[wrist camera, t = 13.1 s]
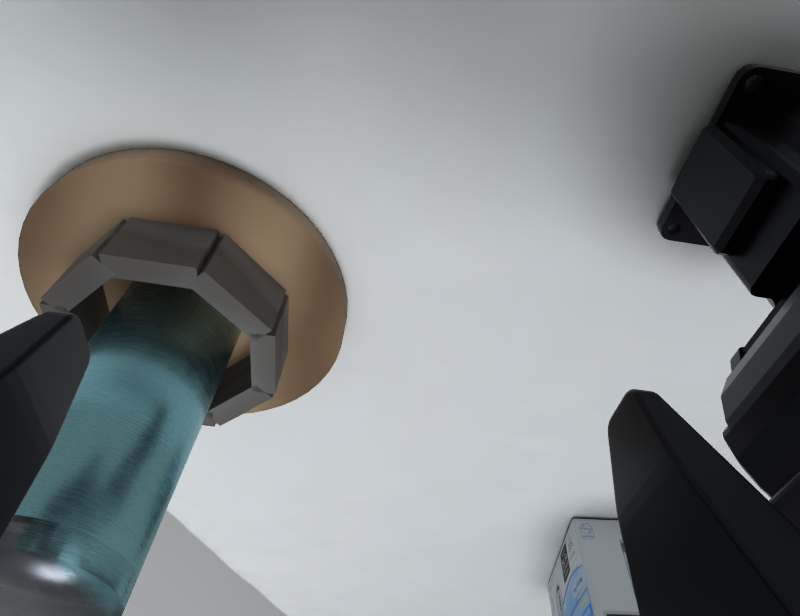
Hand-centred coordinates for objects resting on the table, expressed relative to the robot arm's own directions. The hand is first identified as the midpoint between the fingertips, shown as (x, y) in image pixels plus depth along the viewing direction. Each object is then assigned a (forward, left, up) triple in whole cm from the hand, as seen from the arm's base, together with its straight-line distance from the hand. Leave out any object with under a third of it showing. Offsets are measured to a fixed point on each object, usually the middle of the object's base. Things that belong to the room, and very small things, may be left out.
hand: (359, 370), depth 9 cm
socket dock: (+8, +10, -13) cm, 18 cm away
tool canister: (+8, +10, -12) cm, 17 cm away
